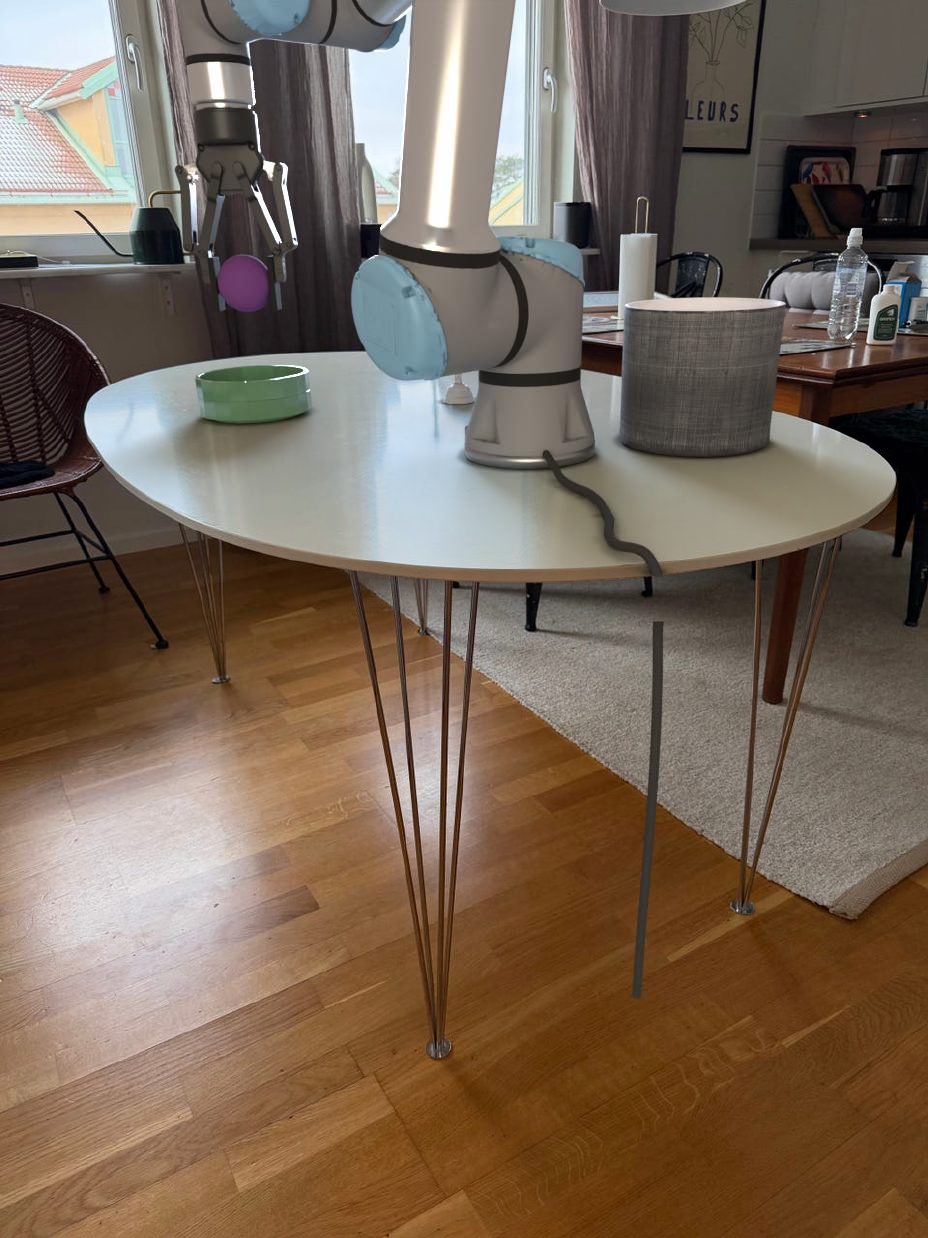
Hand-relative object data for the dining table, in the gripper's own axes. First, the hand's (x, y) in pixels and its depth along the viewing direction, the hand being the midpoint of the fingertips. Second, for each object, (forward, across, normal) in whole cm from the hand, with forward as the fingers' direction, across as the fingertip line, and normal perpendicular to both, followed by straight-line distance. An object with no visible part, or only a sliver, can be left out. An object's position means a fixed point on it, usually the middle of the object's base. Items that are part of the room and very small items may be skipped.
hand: (248, 309), depth 113 cm
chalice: (+16, -27, -16) cm, 35 cm away
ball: (-3, 0, 0) cm, 3 cm away
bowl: (+16, +3, -9) cm, 18 cm away
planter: (+15, -57, +14) cm, 60 cm away
